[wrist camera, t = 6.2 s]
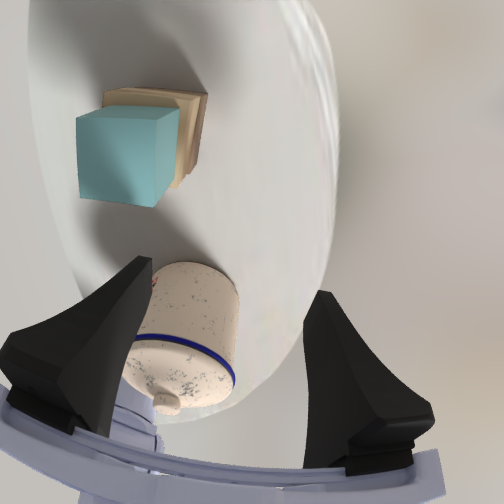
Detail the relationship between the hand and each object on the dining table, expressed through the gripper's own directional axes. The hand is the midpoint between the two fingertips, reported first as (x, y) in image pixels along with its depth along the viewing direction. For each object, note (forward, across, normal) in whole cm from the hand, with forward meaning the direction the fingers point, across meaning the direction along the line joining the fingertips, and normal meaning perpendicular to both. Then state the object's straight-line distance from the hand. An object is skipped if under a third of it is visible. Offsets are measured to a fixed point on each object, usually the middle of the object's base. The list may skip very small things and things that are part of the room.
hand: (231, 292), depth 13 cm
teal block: (+6, +6, -4) cm, 9 cm away
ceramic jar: (+11, +3, +12) cm, 17 cm away
